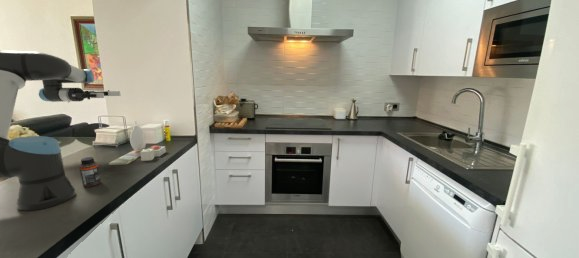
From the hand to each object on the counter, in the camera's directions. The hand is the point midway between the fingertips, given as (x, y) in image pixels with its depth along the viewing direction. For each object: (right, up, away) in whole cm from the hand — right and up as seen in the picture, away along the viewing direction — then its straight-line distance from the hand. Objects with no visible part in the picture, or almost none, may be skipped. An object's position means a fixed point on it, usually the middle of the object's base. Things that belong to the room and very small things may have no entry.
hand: (112, 94), depth 136 cm
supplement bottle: (+16, -43, -34) cm, 57 cm away
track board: (+11, -35, 0) cm, 37 cm away
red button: (+22, -32, +4) cm, 39 cm away
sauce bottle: (+11, -32, +7) cm, 35 cm away
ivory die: (+22, -36, -4) cm, 42 cm away
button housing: (+22, -34, +4) cm, 41 cm away
